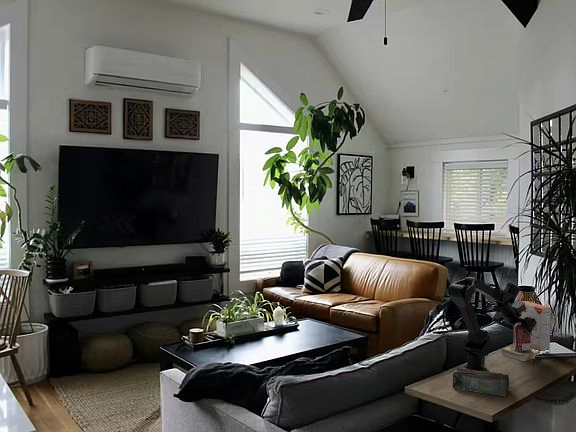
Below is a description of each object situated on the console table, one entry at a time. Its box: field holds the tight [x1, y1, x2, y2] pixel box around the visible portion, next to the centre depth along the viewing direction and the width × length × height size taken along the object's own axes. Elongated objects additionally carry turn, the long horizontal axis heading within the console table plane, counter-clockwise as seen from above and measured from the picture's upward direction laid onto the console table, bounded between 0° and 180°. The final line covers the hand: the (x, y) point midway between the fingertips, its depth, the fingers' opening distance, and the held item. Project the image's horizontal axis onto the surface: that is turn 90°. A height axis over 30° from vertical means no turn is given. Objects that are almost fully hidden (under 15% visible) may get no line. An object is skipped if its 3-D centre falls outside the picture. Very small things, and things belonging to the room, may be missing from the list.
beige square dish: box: [501, 345, 540, 362], centre depth 246 cm, size 11×11×3 cm
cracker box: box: [519, 300, 552, 351], centre depth 254 cm, size 14×6×21 cm, turn 23°
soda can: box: [512, 323, 531, 352], centre depth 245 cm, size 7×7×12 cm
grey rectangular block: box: [452, 367, 510, 398], centre depth 207 cm, size 8×19×7 cm, turn 64°
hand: (522, 332), depth 246 cm, fingers open, 9 cm apart
